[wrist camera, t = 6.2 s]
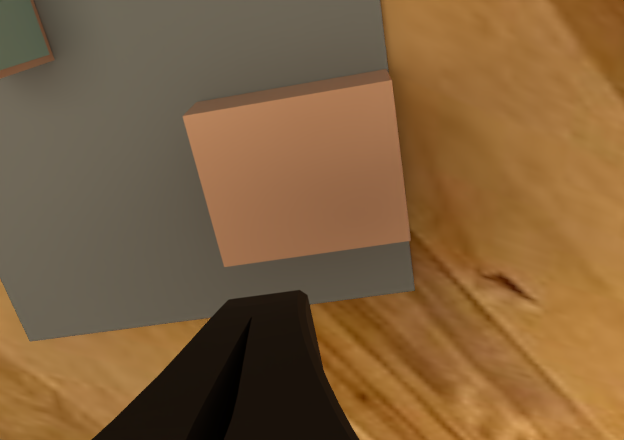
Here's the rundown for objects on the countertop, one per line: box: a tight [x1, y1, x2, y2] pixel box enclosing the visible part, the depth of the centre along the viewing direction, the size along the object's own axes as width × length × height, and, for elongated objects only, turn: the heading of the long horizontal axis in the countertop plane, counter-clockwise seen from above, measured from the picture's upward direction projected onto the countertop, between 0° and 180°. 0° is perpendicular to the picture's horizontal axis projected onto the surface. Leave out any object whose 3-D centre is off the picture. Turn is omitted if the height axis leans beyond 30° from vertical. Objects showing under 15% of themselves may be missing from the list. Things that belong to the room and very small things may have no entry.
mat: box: [0, 0, 415, 341], centre depth 19 cm, size 14×15×1 cm
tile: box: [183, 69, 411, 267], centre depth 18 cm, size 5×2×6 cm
